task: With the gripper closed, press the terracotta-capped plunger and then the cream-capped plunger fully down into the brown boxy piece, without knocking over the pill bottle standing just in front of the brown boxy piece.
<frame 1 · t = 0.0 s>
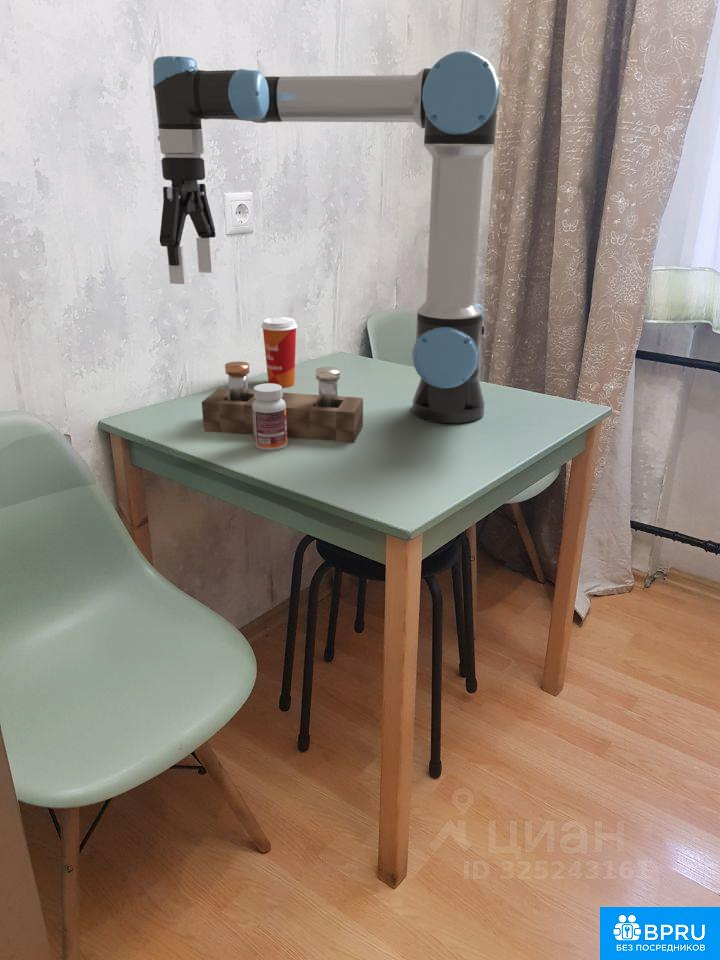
hand: (192, 277, 141), 28 cm above the table, fingers open, 13 cm apart
brown boxy piece: (284, 428, 146), on the table
pill bottle: (270, 446, 138), on the table
knob b: (238, 382, 144), point 9 cm above the table, slide at 0.0 cm
knob a: (328, 388, 141), point 9 cm above the table, slide at 0.0 cm
coffee cup: (281, 384, 173), on the table
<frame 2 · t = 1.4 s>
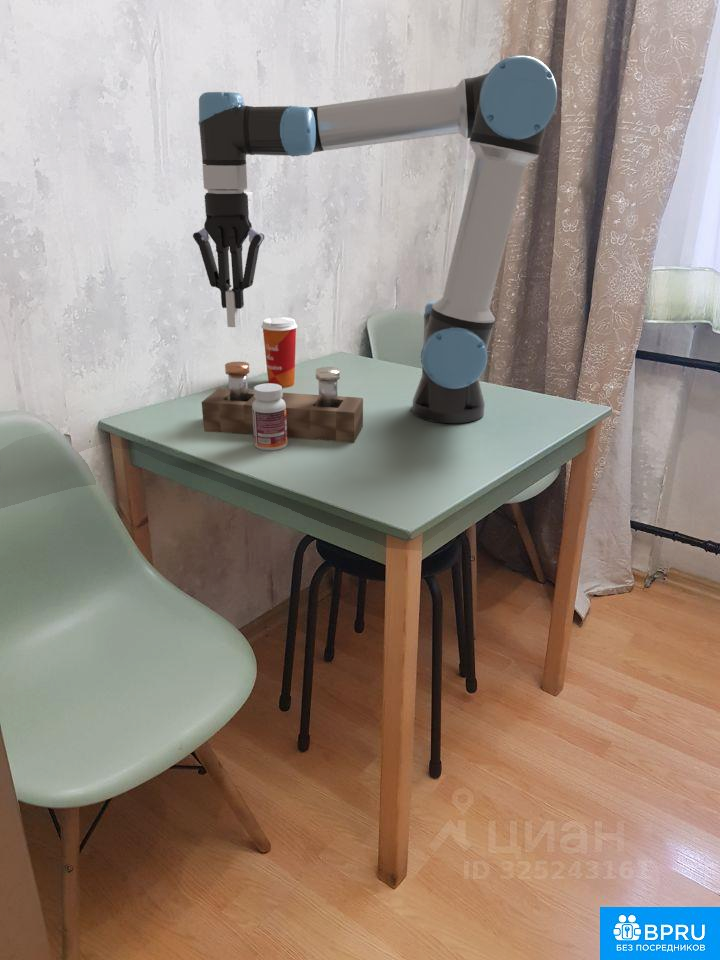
hand: (233, 325, 139), 20 cm above the table, fingers closed
nothing on the table moved.
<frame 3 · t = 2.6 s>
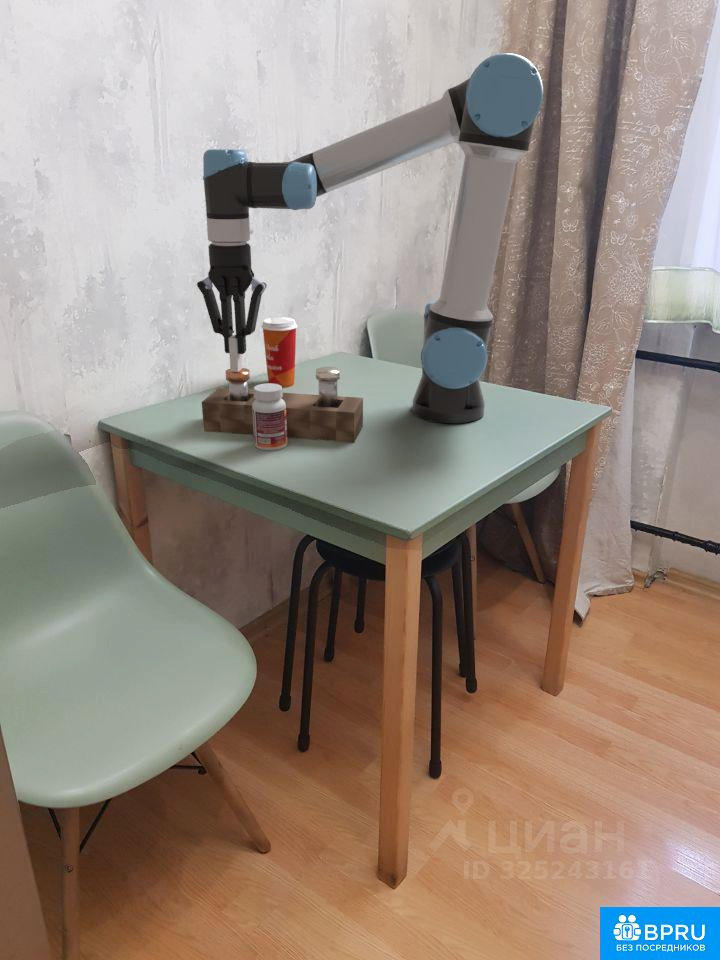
hand: (236, 369, 143), 12 cm above the table, fingers closed
knob b: (238, 388, 144), point 8 cm above the table, slide at 1.3 cm, touching gripper
everything else where it was.
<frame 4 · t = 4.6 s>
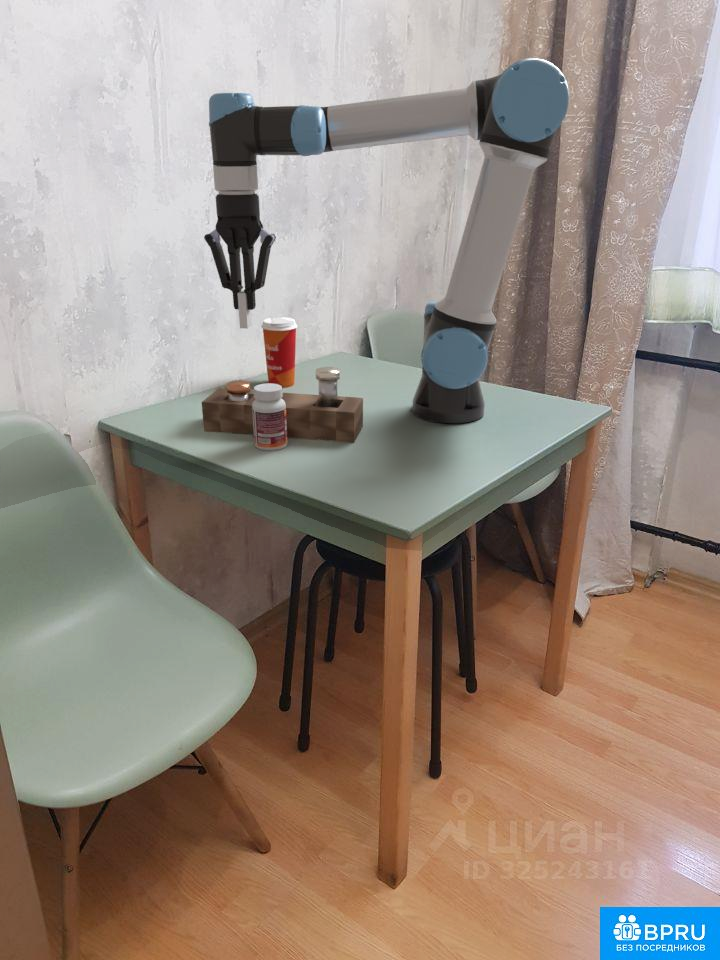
hand: (246, 326, 139), 20 cm above the table, fingers closed
knob b: (239, 400, 145), point 5 cm above the table, slide at 3.8 cm
everything else where it was.
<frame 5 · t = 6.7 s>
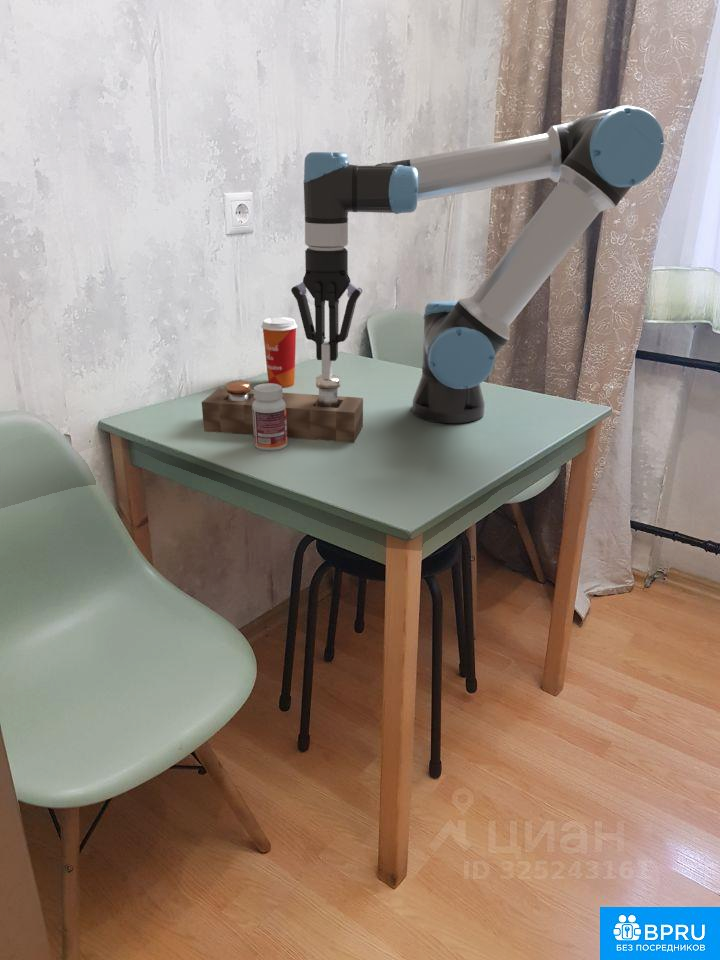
hand: (327, 376, 140), 11 cm above the table, fingers closed
knob a: (328, 395, 141), point 7 cm above the table, slide at 1.6 cm, touching gripper
everything else where it was.
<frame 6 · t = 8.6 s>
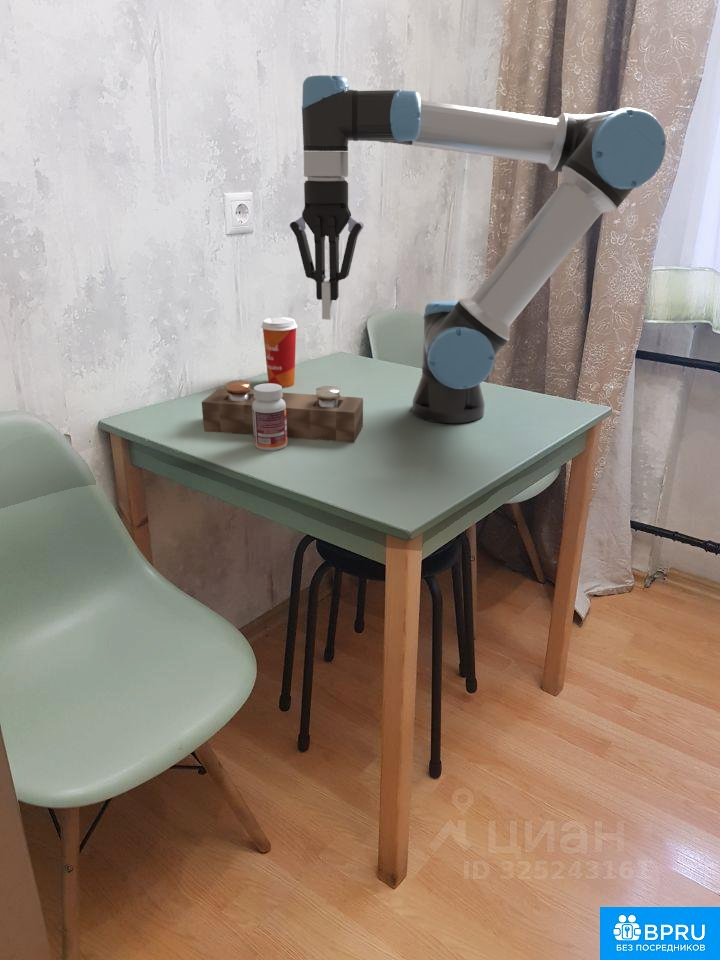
hand: (327, 317, 135), 22 cm above the table, fingers closed
knob a: (328, 406, 142), point 5 cm above the table, slide at 3.8 cm
everything else where it was.
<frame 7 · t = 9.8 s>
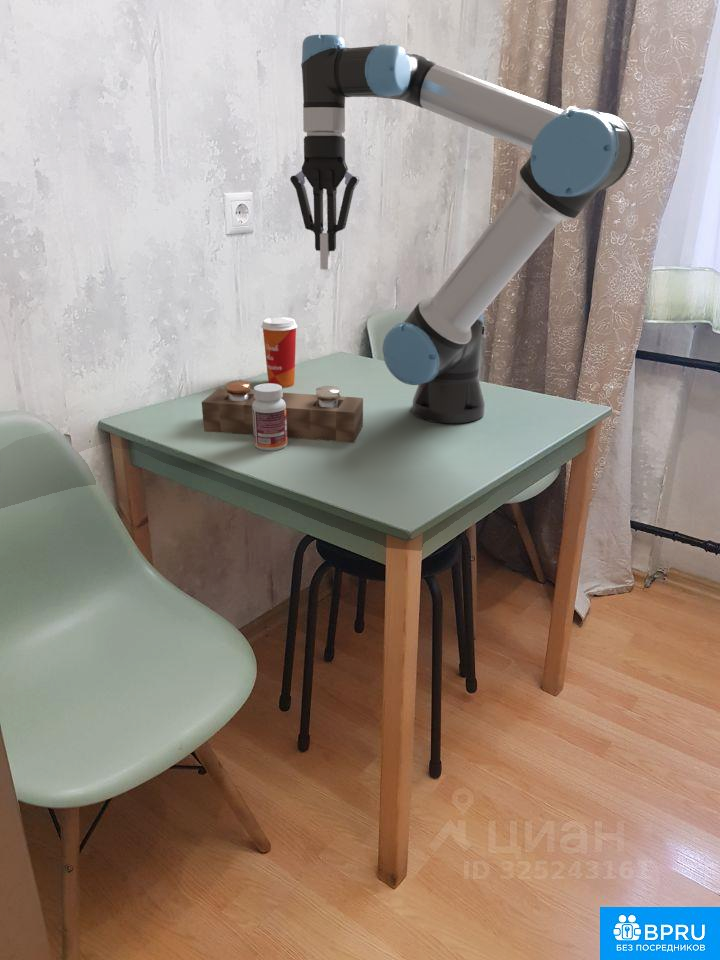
hand: (325, 268, 143), 29 cm above the table, fingers closed
nothing on the table moved.
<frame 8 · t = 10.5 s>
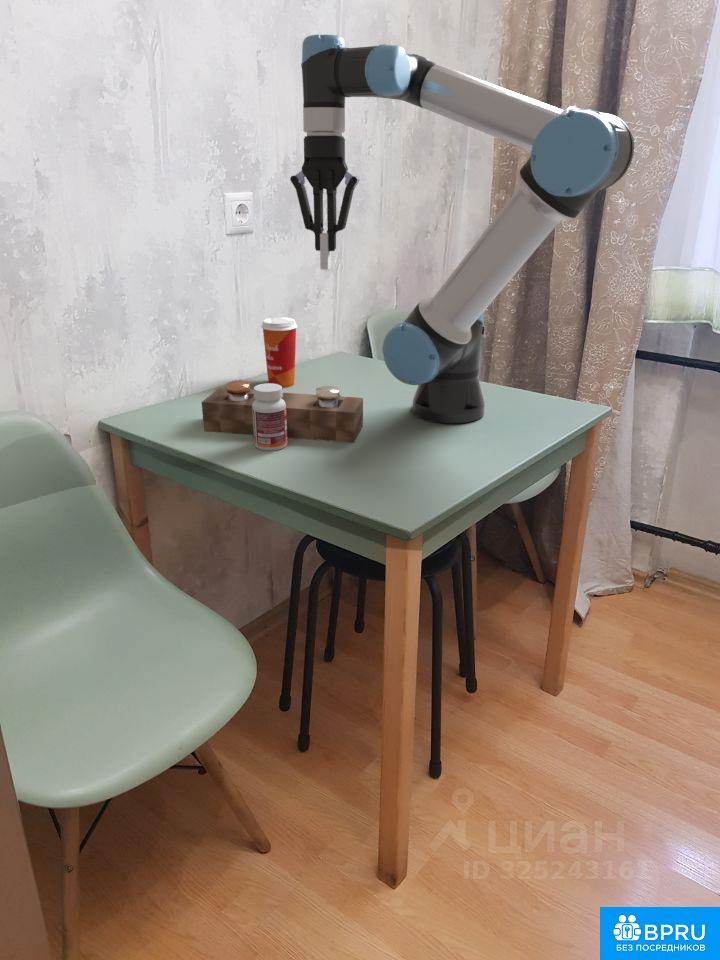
hand: (325, 268, 143), 29 cm above the table, fingers closed
nothing on the table moved.
at the end: knob a slide at 3.8 cm; knob b slide at 3.8 cm; pill bottle tilted 0° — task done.
